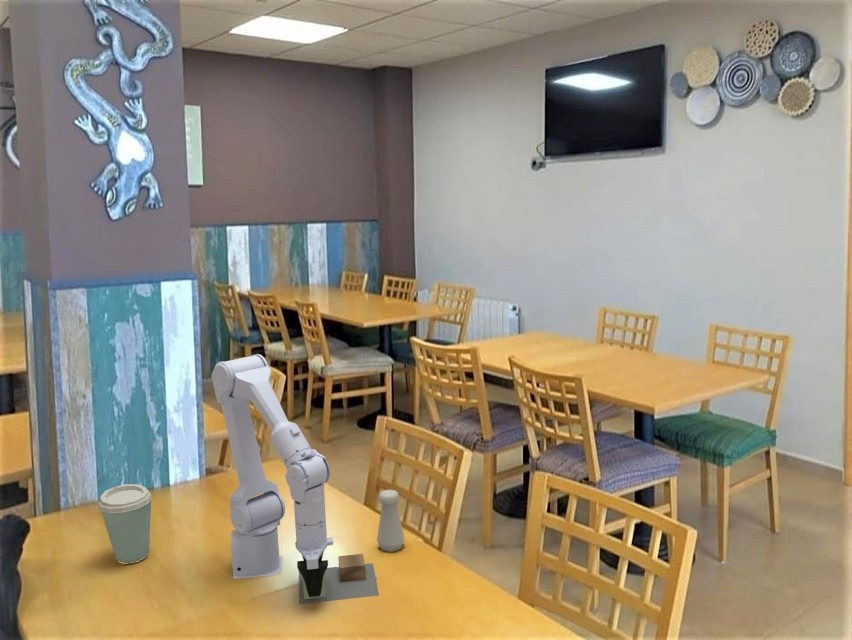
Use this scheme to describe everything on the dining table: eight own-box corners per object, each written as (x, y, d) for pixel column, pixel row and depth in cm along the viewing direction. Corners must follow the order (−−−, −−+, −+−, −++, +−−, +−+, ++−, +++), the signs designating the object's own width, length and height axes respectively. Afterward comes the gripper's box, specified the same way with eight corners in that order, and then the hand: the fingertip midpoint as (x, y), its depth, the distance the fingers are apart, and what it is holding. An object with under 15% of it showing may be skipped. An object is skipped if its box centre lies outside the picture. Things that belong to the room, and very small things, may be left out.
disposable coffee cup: (166, 556, 165) (160, 490, 163) (118, 575, 158) (111, 506, 155) (142, 542, 173) (136, 478, 170) (95, 560, 165) (88, 493, 162)
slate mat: (298, 606, 144) (298, 603, 144) (299, 573, 156) (298, 570, 156) (379, 598, 146) (379, 595, 146) (372, 565, 159) (372, 563, 159)
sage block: (304, 599, 145) (302, 579, 145) (304, 588, 149) (302, 569, 148) (325, 596, 146) (324, 577, 145) (324, 586, 150) (323, 567, 149)
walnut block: (340, 582, 151) (339, 567, 151) (338, 570, 156) (338, 556, 156) (365, 579, 152) (365, 565, 151) (363, 567, 157) (363, 553, 156)
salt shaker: (401, 556, 162) (398, 498, 160) (374, 554, 163) (372, 496, 161) (407, 544, 168) (405, 487, 166) (381, 542, 169) (379, 486, 167)
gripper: (333, 533, 139) (337, 604, 141) (330, 502, 153) (333, 566, 155) (293, 537, 138) (297, 608, 140) (294, 505, 152) (298, 570, 154)
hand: (314, 586), depth 147 cm, fingers open, 6 cm apart
